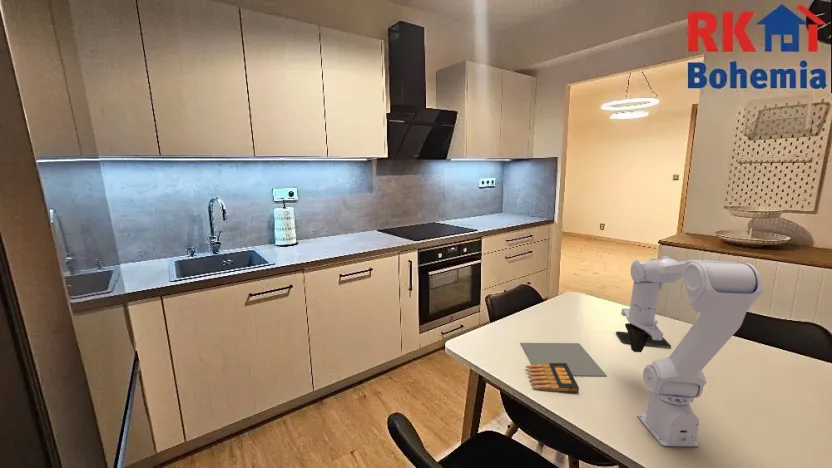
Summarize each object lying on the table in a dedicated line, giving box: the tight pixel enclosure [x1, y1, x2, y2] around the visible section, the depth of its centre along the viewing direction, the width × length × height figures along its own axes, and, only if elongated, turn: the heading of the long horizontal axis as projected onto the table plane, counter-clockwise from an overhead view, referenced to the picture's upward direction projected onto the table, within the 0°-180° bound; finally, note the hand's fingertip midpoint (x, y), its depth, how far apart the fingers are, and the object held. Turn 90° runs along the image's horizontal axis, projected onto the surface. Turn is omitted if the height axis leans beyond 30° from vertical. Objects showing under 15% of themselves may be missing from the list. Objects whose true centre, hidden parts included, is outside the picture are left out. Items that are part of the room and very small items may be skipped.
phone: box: [615, 330, 672, 350], centre depth 119 cm, size 8×1×15 cm
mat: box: [520, 342, 608, 377], centre depth 109 cm, size 18×20×1 cm
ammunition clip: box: [525, 363, 580, 394], centre depth 98 cm, size 11×2×12 cm
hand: (636, 350), depth 94 cm, fingers closed
